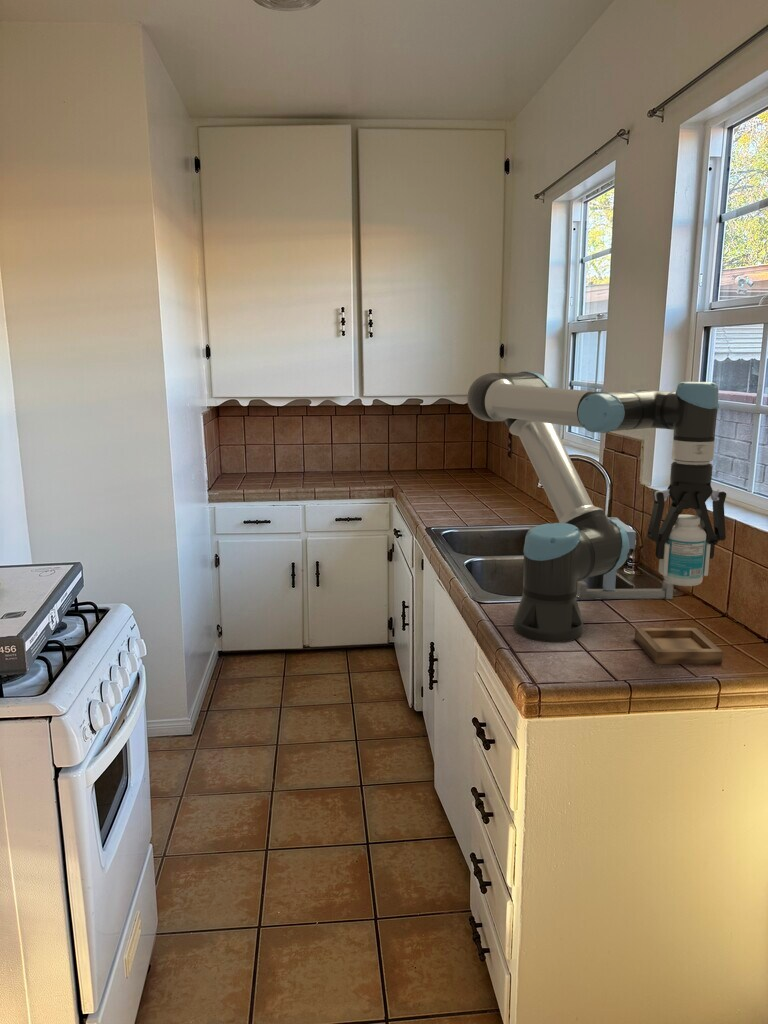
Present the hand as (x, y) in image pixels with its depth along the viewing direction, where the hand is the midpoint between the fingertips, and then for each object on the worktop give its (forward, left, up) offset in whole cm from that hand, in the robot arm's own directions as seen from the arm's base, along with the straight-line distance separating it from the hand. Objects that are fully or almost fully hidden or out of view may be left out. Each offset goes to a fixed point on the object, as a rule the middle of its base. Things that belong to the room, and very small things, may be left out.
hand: (682, 573), depth 148 cm
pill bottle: (0, 0, -2) cm, 2 cm away
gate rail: (0, +34, -17) cm, 38 cm away
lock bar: (-4, +28, -14) cm, 31 cm away
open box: (0, 0, -17) cm, 17 cm away
